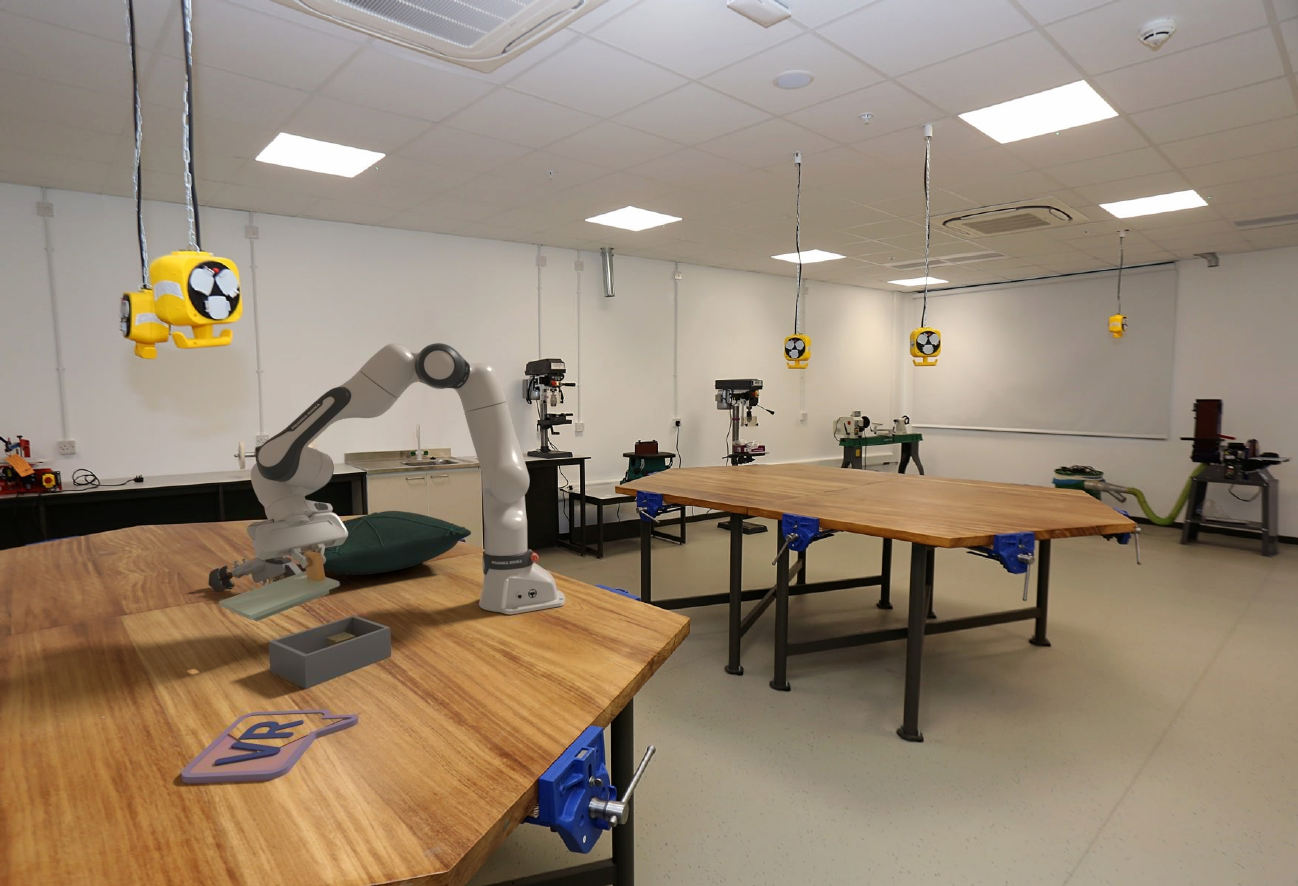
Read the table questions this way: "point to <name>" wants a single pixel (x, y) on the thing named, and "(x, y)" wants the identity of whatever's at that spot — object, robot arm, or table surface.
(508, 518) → the robot arm
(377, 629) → the tub
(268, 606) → the lid
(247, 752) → the icon
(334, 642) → the brass block
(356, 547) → the pillow
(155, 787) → the table surface
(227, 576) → the grey mechanical piece
